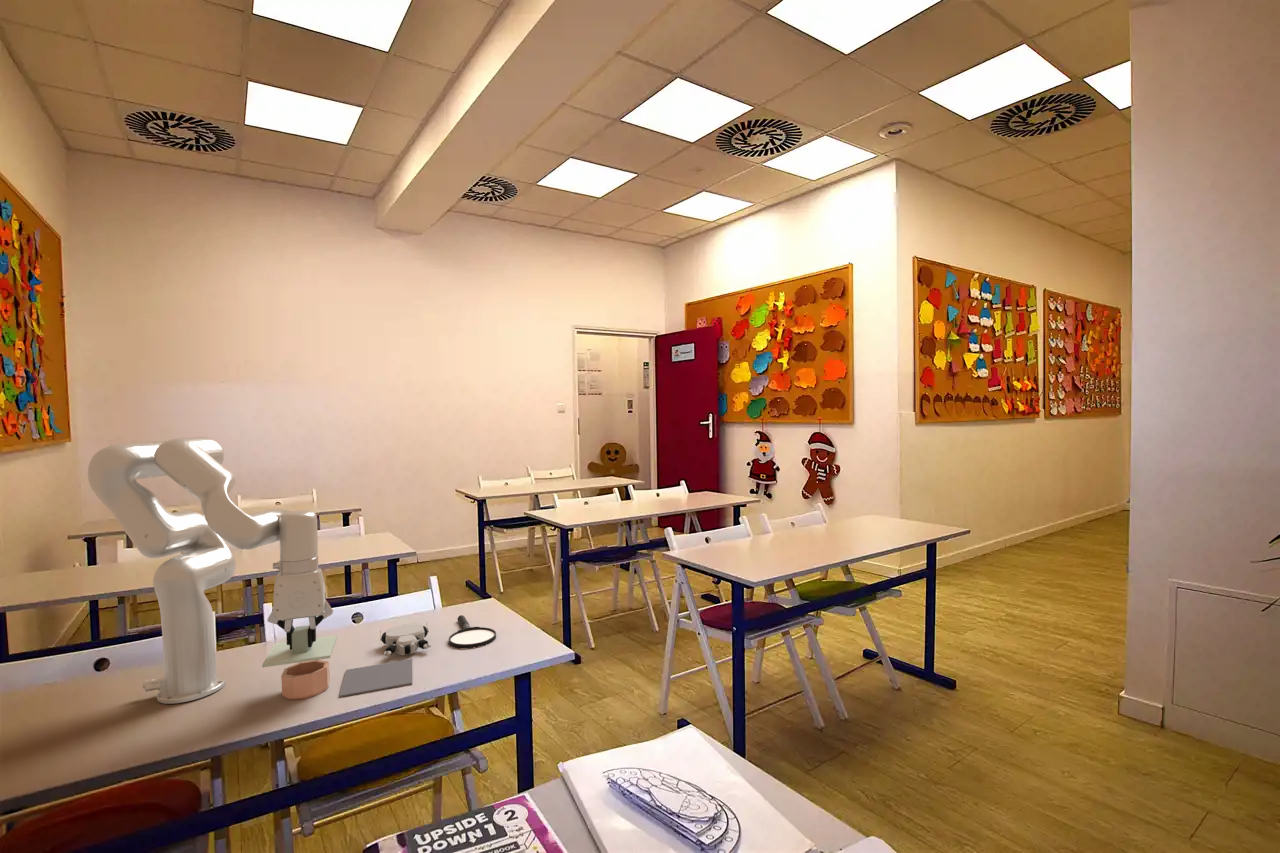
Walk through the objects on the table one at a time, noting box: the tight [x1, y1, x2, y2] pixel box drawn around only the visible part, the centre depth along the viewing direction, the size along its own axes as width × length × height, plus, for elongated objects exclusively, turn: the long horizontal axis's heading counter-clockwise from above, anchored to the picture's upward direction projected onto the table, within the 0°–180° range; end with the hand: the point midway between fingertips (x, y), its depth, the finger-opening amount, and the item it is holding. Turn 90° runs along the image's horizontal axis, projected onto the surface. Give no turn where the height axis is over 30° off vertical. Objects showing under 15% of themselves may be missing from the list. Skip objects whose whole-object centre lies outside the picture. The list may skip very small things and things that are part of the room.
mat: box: [339, 658, 413, 698], centre depth 144 cm, size 15×15×1 cm
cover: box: [261, 625, 338, 668], centre depth 138 cm, size 13×13×5 cm
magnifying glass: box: [448, 614, 497, 649], centre depth 172 cm, size 12×24×2 cm, turn 26°
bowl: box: [280, 659, 331, 700], centre depth 139 cm, size 9×9×5 cm
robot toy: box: [379, 622, 432, 656], centre depth 162 cm, size 12×4×15 cm
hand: (301, 645), depth 138 cm, fingers closed on cover, 3 cm apart
